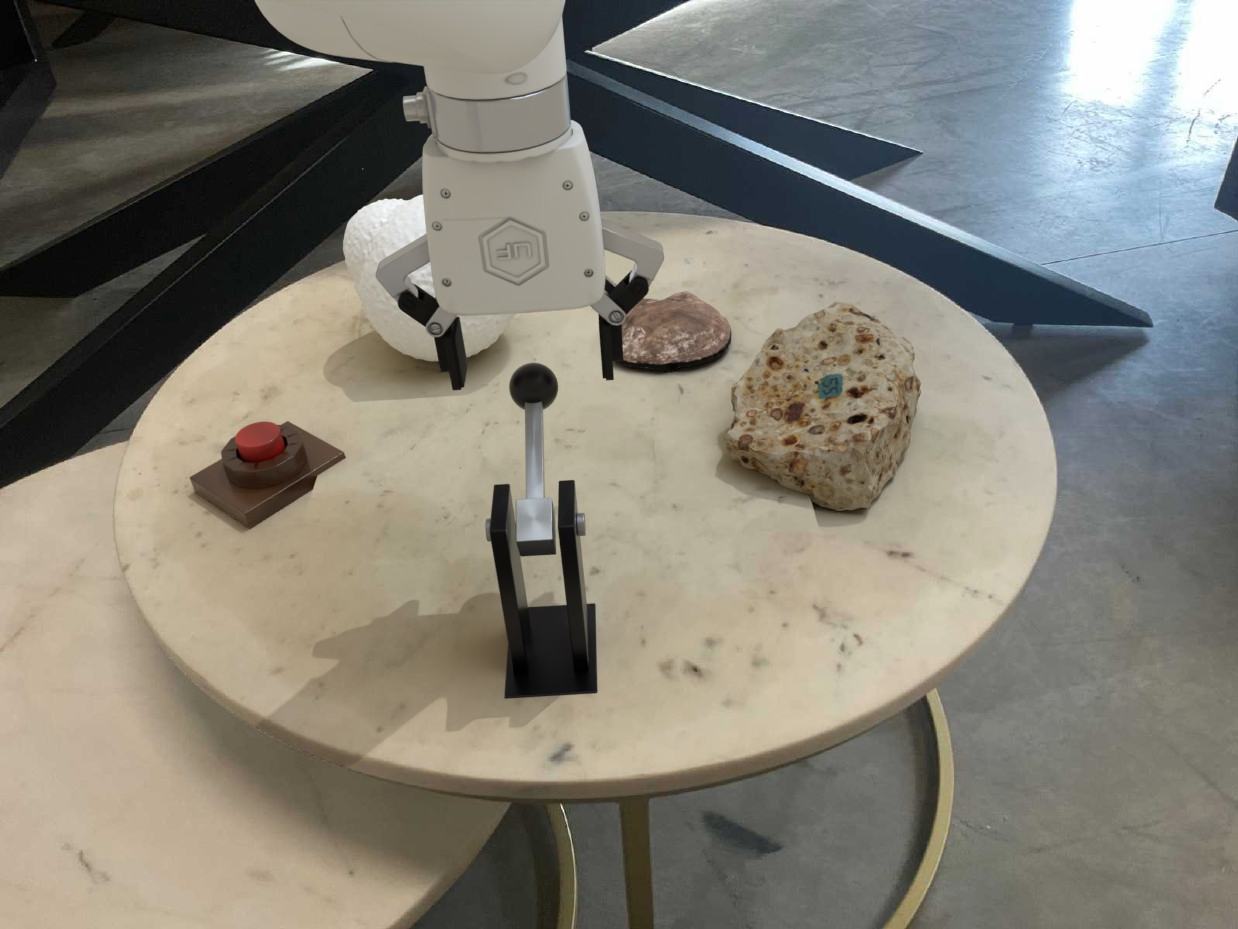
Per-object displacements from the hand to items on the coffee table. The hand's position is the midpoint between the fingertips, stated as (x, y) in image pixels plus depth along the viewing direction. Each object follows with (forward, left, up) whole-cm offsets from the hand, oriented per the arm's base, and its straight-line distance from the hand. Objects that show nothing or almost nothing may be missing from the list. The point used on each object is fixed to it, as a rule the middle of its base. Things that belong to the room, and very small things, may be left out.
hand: (534, 373), depth 67 cm
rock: (+26, -8, -17) cm, 32 cm away
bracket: (-7, -6, -17) cm, 20 cm away
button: (-7, +27, -14) cm, 31 cm away
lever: (-3, -3, -4) cm, 6 cm away
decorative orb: (+17, +30, -17) cm, 39 cm away
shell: (+31, +12, -17) cm, 38 cm away
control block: (-7, +27, -17) cm, 32 cm away
